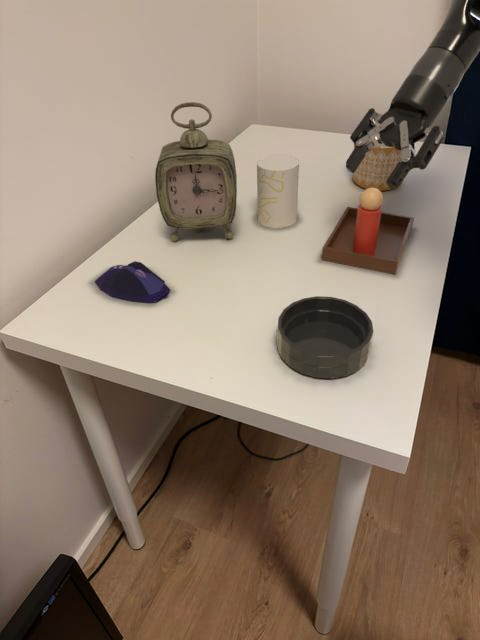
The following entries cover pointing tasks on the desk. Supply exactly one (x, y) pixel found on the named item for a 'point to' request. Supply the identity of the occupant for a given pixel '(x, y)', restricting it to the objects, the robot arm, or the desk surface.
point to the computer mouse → (132, 283)
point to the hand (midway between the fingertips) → (368, 177)
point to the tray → (387, 247)
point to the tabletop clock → (196, 180)
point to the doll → (368, 221)
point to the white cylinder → (277, 190)
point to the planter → (377, 167)
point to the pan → (324, 337)
